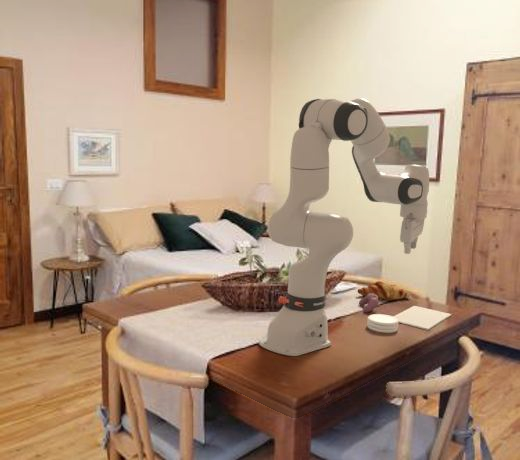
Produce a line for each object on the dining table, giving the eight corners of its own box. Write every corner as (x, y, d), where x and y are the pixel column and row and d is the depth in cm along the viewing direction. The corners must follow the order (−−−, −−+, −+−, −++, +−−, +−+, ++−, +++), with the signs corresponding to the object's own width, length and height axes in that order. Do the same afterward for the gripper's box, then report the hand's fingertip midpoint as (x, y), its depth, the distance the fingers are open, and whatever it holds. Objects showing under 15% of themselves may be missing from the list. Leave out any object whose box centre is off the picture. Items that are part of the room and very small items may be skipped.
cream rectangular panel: (428, 330, 169) (428, 328, 169) (388, 320, 178) (388, 318, 178) (451, 315, 186) (451, 314, 186) (414, 307, 195) (414, 305, 195)
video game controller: (373, 317, 185) (383, 301, 184) (362, 311, 185) (372, 294, 184) (367, 309, 195) (377, 293, 194) (357, 303, 195) (366, 287, 194)
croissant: (406, 305, 210) (406, 285, 212) (414, 300, 200) (413, 280, 203) (355, 302, 209) (355, 282, 212) (360, 296, 200) (360, 277, 202)
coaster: (398, 325, 173) (399, 315, 172) (397, 335, 164) (397, 325, 163) (368, 321, 176) (369, 312, 175) (365, 331, 167) (366, 320, 166)
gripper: (416, 216, 167) (413, 258, 169) (428, 209, 184) (424, 246, 187) (397, 214, 169) (394, 255, 172) (410, 207, 187) (407, 244, 190)
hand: (410, 250), depth 180 cm, fingers open, 8 cm apart
